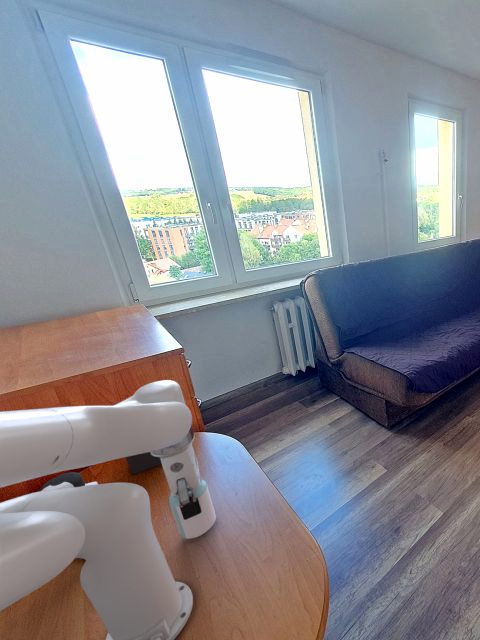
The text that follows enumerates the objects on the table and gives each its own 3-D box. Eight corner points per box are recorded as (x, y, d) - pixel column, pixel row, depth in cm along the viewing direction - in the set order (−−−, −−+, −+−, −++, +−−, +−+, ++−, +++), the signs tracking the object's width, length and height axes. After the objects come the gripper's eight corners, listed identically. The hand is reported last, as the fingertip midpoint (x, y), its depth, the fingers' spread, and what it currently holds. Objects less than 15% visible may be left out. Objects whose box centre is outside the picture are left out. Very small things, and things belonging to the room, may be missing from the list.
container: (67, 515, 80) (45, 474, 76) (108, 503, 83) (89, 463, 79) (49, 543, 74) (24, 501, 69) (95, 530, 77) (73, 488, 72)
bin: (176, 458, 98) (168, 434, 94) (132, 474, 92) (122, 449, 89) (175, 439, 105) (168, 416, 102) (134, 453, 99) (125, 429, 96)
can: (202, 509, 81) (190, 470, 77) (223, 517, 79) (212, 478, 75) (173, 535, 75) (158, 494, 71) (195, 545, 73) (182, 503, 69)
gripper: (196, 454, 64) (215, 522, 70) (190, 411, 77) (207, 471, 83) (146, 472, 60) (172, 542, 66) (149, 424, 73) (170, 486, 79)
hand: (191, 502), depth 75 cm, fingers closed on can, 7 cm apart
